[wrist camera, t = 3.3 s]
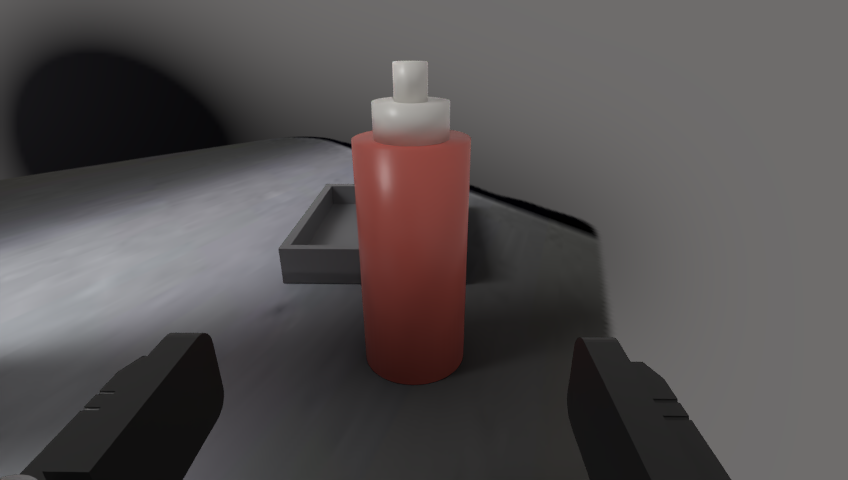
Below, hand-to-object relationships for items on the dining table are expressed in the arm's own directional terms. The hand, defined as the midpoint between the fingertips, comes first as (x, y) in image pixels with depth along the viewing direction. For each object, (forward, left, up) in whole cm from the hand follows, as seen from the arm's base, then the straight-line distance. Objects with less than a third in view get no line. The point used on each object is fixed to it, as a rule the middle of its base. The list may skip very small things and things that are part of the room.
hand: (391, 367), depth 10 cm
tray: (-3, +25, -8) cm, 27 cm away
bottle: (0, +11, -8) cm, 14 cm away
